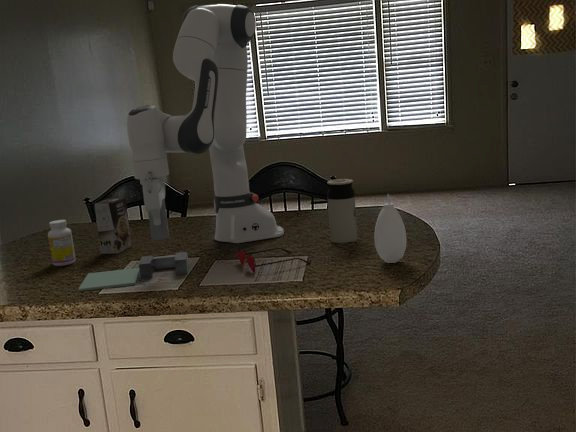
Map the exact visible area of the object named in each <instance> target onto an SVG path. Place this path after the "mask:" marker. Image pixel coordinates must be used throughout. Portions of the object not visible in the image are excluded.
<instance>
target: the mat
mask: <svg viewBox="0 0 576 432" xmlns="http://www.w3.org/2000/svg"><path fill="white" fill-rule="evenodd" d="M138 277H140V271H139V267H134V268H125V269H117V270H116V269H115V270H108V271H98V272H88V273H87V275H86V276H85V278H84V279H83V281H82V282H81V284H80V285H79V286H78V289H77V290H78V292H84V291H93V290H100V289H102V290H103V289H109V288H111V289H112V288H118V287H127V286H136V284H137V281H138V279H139V278H138Z"/></svg>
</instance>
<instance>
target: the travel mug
mask: <svg viewBox="0 0 576 432" xmlns="http://www.w3.org/2000/svg"><path fill="white" fill-rule="evenodd" d="M353 182H354V180H353V179H349V178H339V179H338V178H337V179H331V180H328V181H327V185H328V190H327V192H326V194H327V209H328V222H329V223H328V224H329V235H330V236H329V238H330V241H331V242H332V243H334V242H335V243H334V244H348V243H347V242H351V243H354V242H355V241H357V240H358V228H357V227H358V226H357V214H356V198H355V196H356V194H355V190H354V188H353ZM353 241H354V242H353Z"/></svg>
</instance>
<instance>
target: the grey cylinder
mask: <svg viewBox="0 0 576 432" xmlns="http://www.w3.org/2000/svg"><path fill="white" fill-rule="evenodd" d="M147 213H148V221H149V227H150V228H149V229H150V236H151V239H152V241H157V242H158V241H164V240H167V239H169V238H170V232H169V224H168V217H167V209H166V201H165V199H163V200H162V206H161V209H160V217H161V224H160V225H154V221H153V217H152V214H151V212H147Z"/></svg>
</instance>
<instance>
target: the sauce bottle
mask: <svg viewBox="0 0 576 432" xmlns="http://www.w3.org/2000/svg"><path fill="white" fill-rule="evenodd" d="M386 200H387V202H386V203H384V204H383V205H382V206H383V208H381V210H380V212H379V214H378V216H377V219H376V223H375V228H374V237H373V238H374V239H373V240H374V246H375V250H376V253H377V254H378V256H379V258H380V259H381V260H383V261H384V262H385V263H388V264H389V263H394V264H396V263H397V262H399V261H400V259H402V258H403V256H404V255H405V253H406V248H407V232H406V231H407V230H406V227H405V224H404V221H403V218H402V216H401V215H400V212H399V211H398V210H397V209H396V207H395V204H394V203H392V202H391V201H390V195H389V193H387V199H386Z"/></svg>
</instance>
